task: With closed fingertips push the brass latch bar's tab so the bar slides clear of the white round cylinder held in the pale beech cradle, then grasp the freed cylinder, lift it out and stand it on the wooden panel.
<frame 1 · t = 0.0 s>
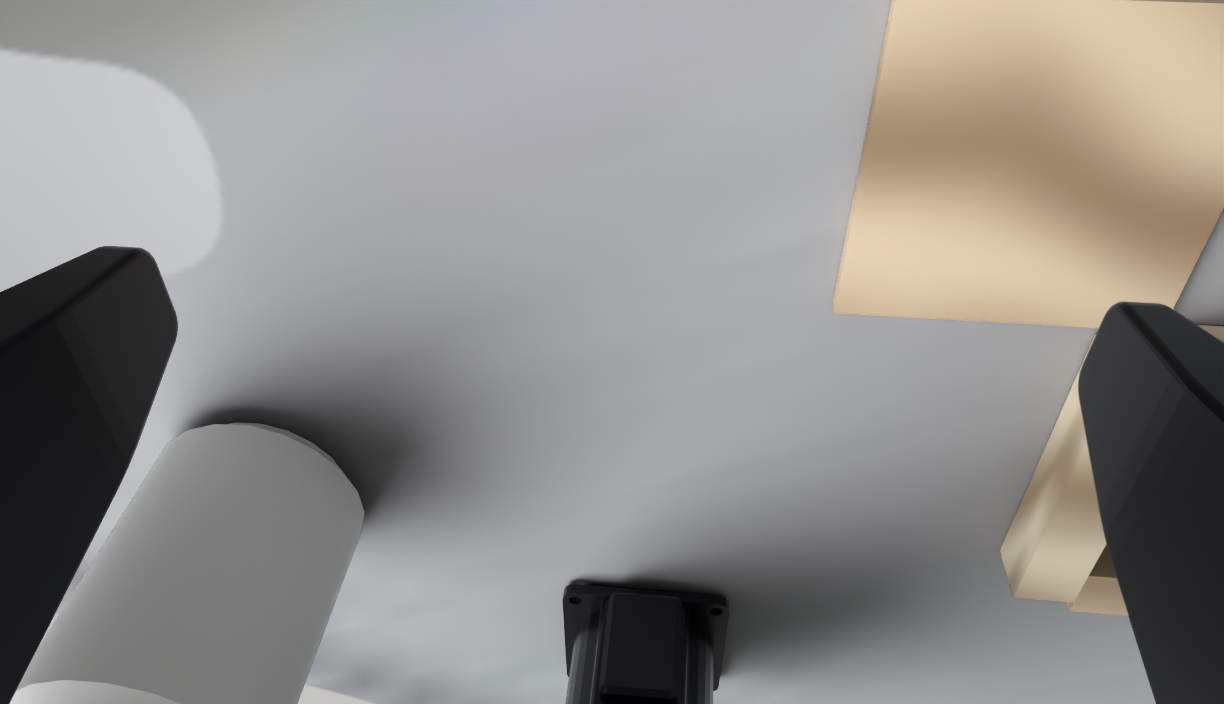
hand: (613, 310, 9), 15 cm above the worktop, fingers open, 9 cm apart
can: (273, 474, 34), on the worktop
wooden panel: (1040, 173, 23), on the worktop
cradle: (1221, 465, 29), on the worktop
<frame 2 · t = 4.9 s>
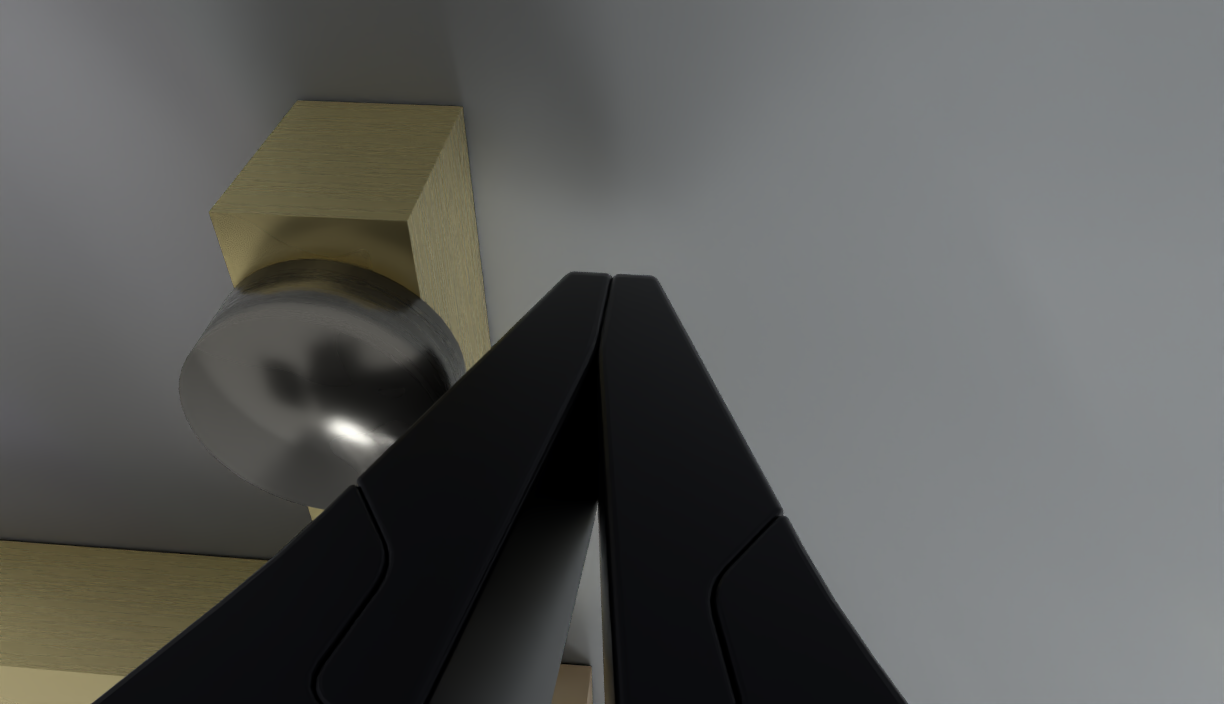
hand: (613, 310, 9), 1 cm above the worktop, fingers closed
tie bar: (109, 491, 11), point 1 cm above the worktop, slide at 0.0 cm, touching gripper
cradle: (288, 701, 17), on the worktop
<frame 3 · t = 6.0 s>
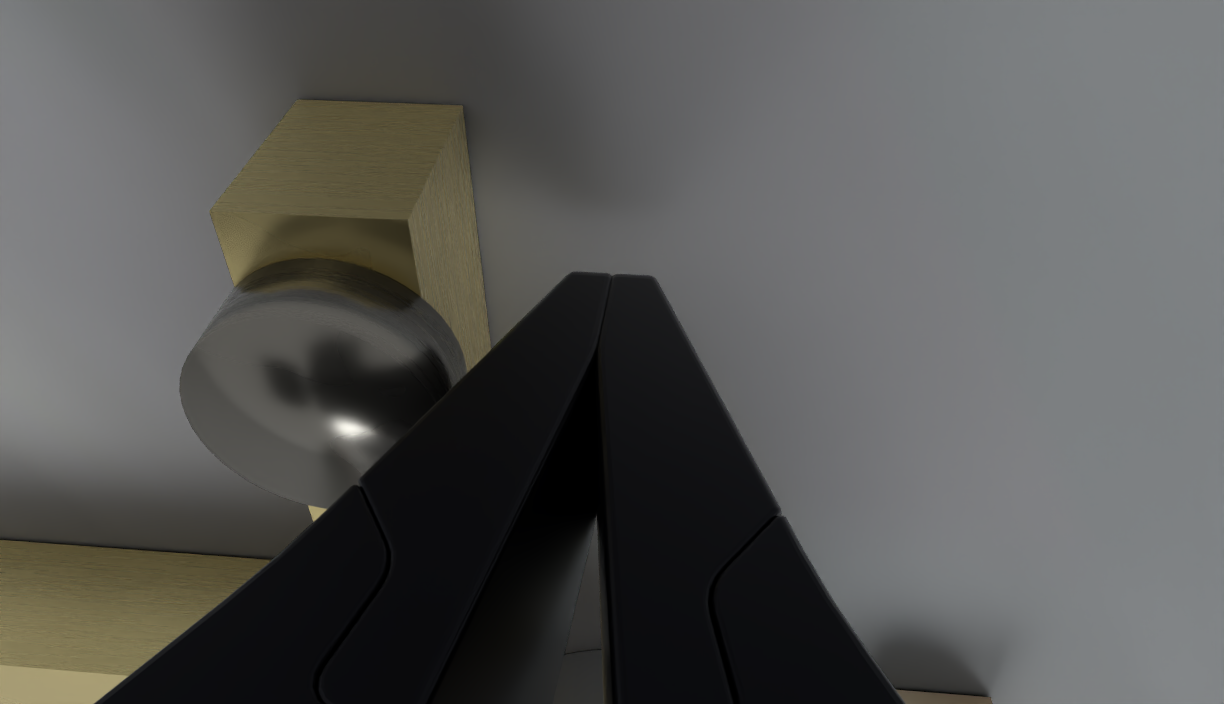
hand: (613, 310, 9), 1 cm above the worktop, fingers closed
tie bar: (109, 490, 11), point 1 cm above the worktop, slide at 6.3 cm, touching gripper
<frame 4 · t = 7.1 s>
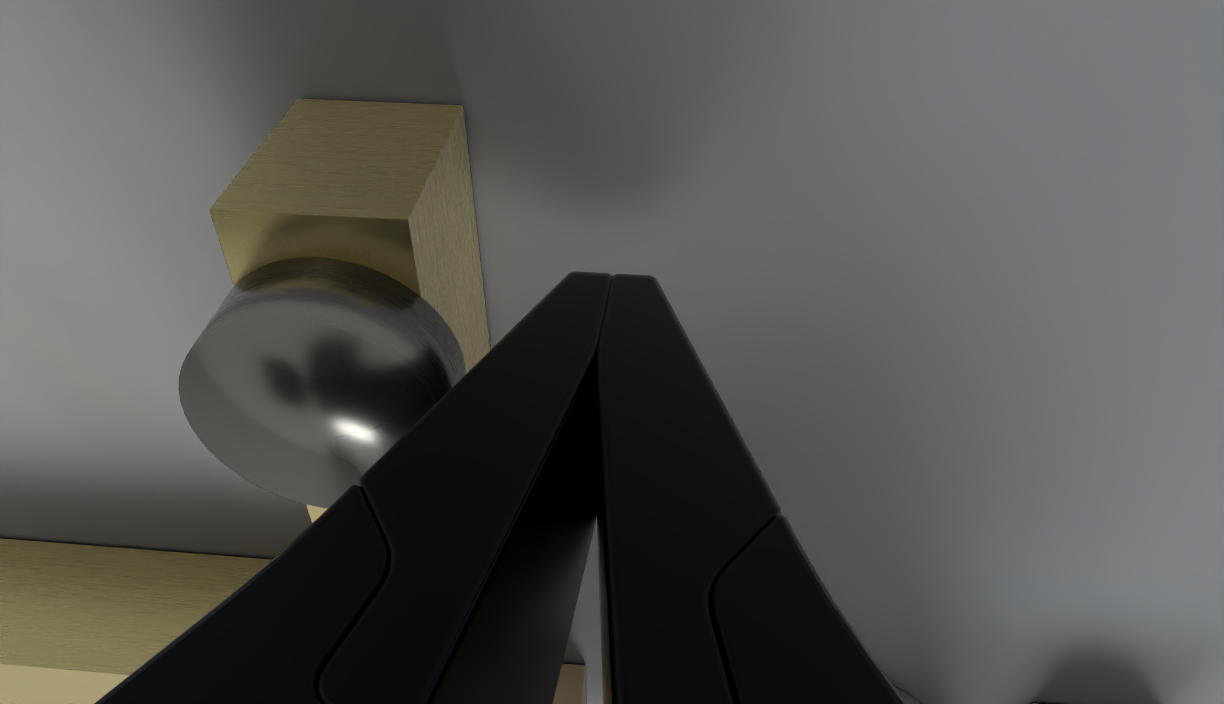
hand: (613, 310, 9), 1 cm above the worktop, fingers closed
tie bar: (107, 489, 11), point 1 cm above the worktop, slide at 9.0 cm, touching gripper
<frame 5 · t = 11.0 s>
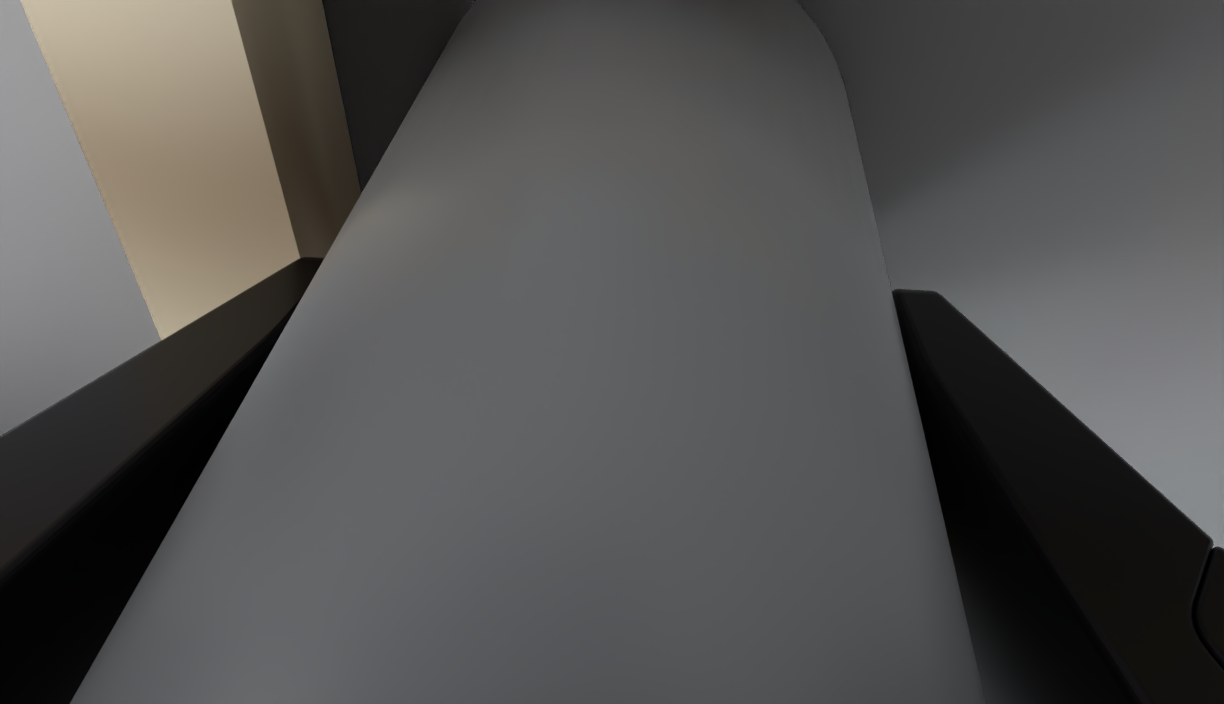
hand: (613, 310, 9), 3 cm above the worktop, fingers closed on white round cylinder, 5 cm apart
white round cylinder: (597, 416, 8), in the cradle, touching gripper
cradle: (636, 154, 11), on the worktop
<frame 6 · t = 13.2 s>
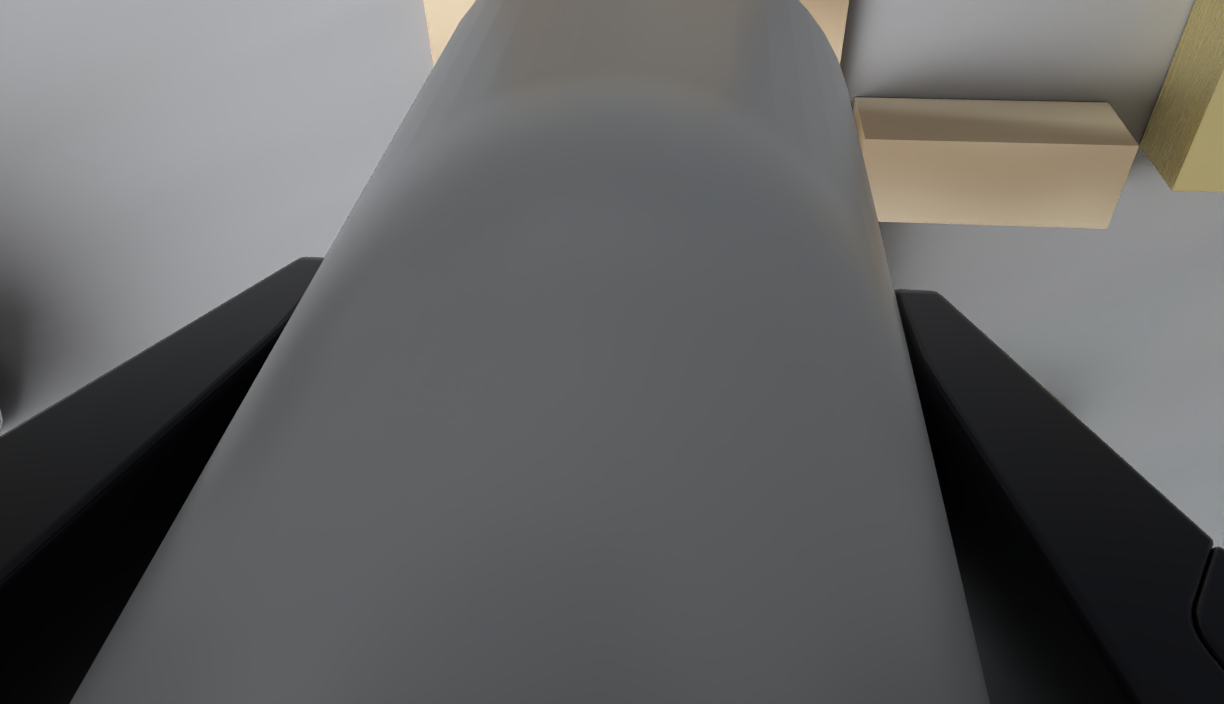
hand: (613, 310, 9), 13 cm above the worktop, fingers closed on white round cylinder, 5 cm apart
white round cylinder: (598, 414, 8), point 15 cm above the worktop, touching gripper
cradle: (959, 298, 24), on the worktop
when the fingers open (4 cm above the worktop, at t = 15.3 s): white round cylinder drops 1 cm, resting on wooden panel.
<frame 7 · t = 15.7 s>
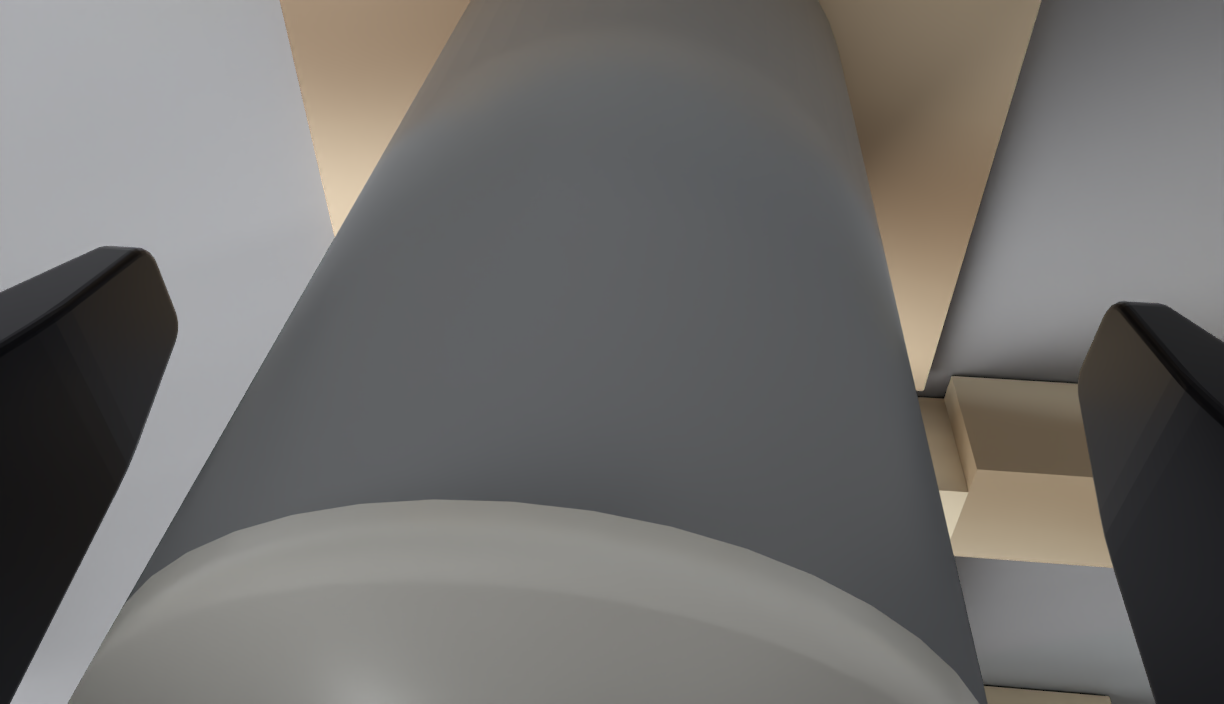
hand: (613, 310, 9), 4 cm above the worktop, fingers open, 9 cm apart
wooden panel: (645, 98, 12), on the worktop
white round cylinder: (609, 334, 8), on the wooden panel
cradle: (1066, 595, 18), on the worktop
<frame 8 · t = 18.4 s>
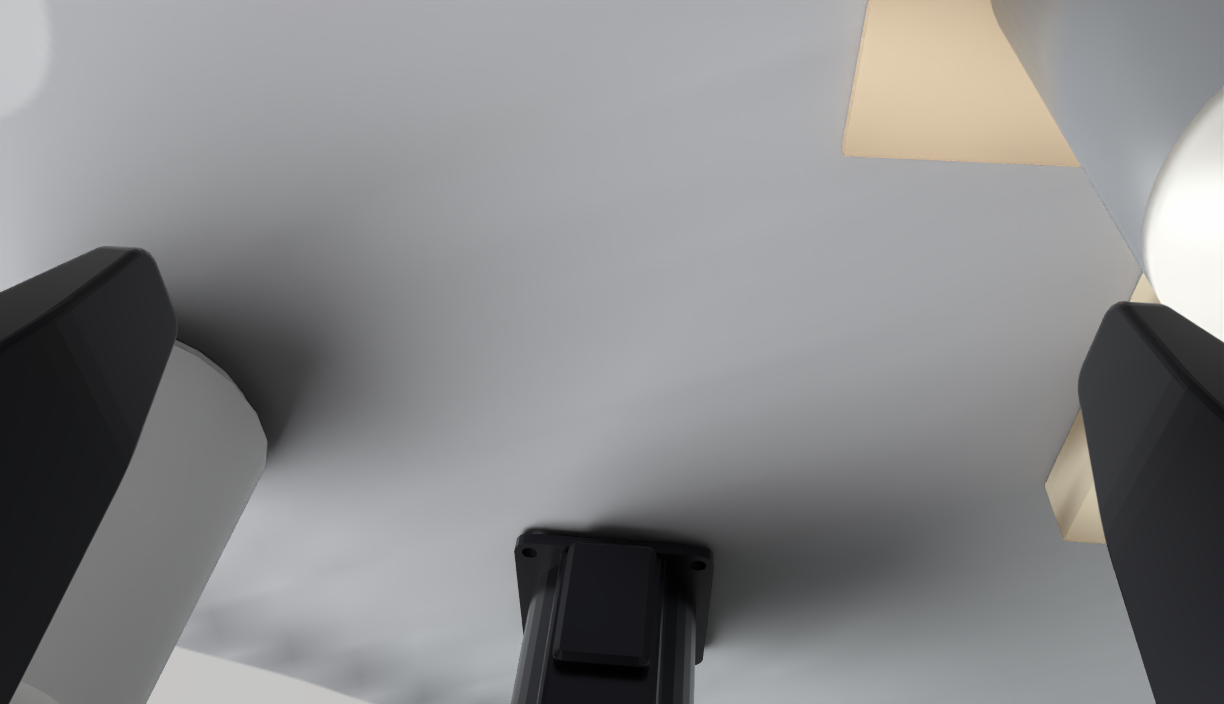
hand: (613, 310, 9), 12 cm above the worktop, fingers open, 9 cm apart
can: (158, 396, 28), on the worktop
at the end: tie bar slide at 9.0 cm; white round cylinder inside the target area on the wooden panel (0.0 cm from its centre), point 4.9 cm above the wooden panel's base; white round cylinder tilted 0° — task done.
